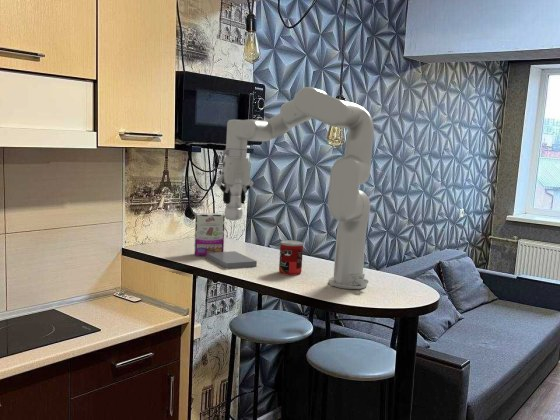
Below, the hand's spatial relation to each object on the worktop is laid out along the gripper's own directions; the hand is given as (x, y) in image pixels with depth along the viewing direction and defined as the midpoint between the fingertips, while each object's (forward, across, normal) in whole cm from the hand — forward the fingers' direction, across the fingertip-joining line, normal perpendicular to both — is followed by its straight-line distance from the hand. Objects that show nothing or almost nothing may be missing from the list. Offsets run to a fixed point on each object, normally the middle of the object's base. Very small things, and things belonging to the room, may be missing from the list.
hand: (234, 202), depth 200 cm
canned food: (+23, +13, -21) cm, 33 cm away
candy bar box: (+23, -3, +14) cm, 27 cm away
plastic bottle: (+7, 0, 0) cm, 7 cm away
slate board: (+22, 0, 0) cm, 22 cm away
